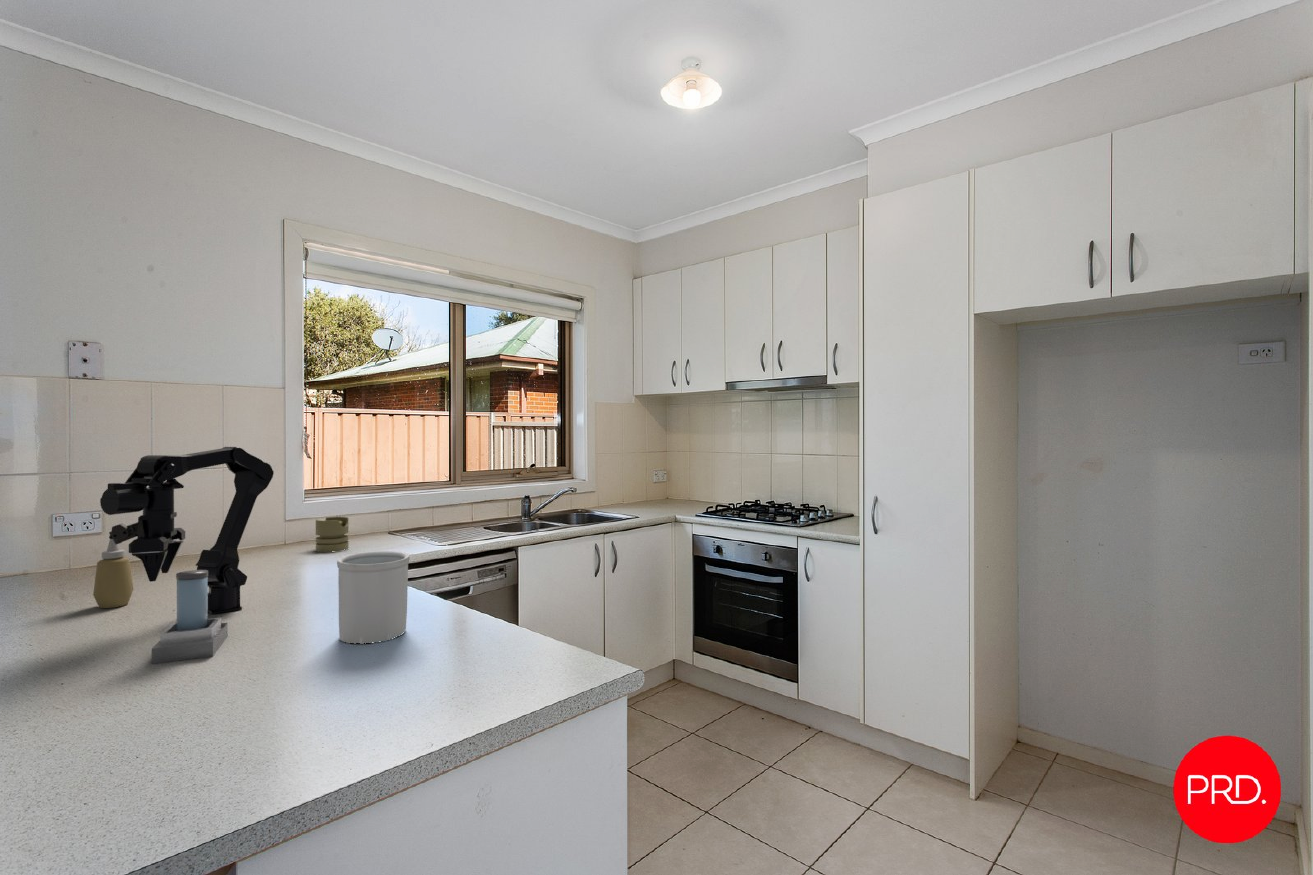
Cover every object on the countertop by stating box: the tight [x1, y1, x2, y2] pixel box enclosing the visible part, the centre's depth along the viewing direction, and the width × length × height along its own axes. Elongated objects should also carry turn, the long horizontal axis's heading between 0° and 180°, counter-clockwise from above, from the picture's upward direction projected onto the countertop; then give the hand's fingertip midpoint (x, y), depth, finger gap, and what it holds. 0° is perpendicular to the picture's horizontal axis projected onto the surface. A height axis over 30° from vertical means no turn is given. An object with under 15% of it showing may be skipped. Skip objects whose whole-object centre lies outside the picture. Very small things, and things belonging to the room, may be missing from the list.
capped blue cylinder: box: [175, 569, 209, 631], centre depth 132 cm, size 5×5×13 cm
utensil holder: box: [336, 550, 410, 645], centre depth 141 cm, size 15×15×18 cm
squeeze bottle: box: [92, 538, 134, 609], centre depth 165 cm, size 8×8×18 cm
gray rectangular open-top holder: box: [151, 617, 229, 665], centre depth 132 cm, size 14×10×5 cm
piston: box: [315, 516, 350, 553], centre depth 244 cm, size 11×12×11 cm
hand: (159, 577), depth 145 cm, fingers open, 9 cm apart
